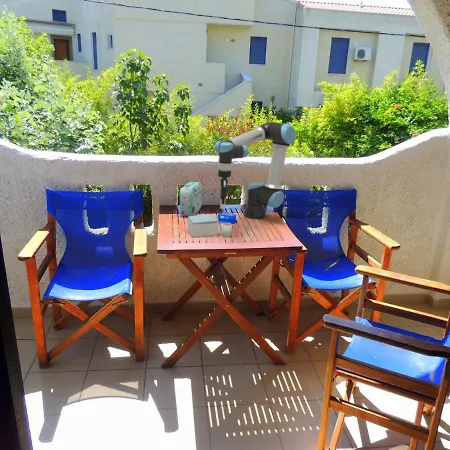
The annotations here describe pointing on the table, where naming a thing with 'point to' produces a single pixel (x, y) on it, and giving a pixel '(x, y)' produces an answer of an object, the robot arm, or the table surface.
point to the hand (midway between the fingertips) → (222, 208)
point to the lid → (203, 219)
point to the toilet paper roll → (226, 229)
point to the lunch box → (190, 198)
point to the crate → (203, 229)
